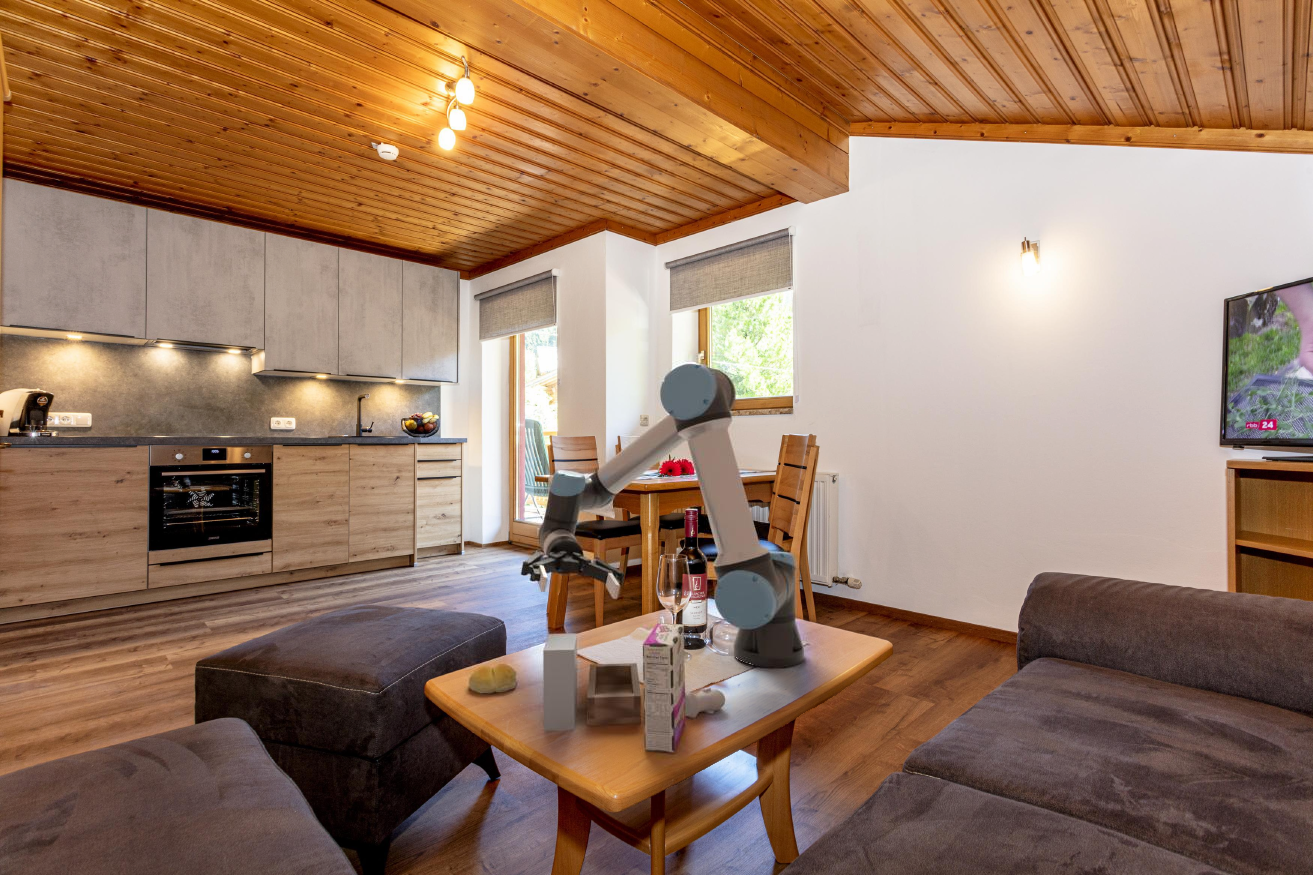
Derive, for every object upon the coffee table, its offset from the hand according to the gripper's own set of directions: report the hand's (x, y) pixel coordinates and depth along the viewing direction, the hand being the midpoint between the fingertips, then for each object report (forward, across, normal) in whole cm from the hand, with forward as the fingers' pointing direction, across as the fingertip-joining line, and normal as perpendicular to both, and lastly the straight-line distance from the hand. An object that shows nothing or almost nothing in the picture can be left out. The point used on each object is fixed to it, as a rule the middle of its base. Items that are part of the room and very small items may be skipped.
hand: (581, 588), depth 116 cm
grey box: (+10, +2, -19) cm, 22 cm away
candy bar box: (+22, -13, -15) cm, 30 cm away
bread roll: (-8, +11, -24) cm, 28 cm away
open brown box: (+8, -8, -18) cm, 21 cm away
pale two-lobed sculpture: (+15, -22, -15) cm, 30 cm away
